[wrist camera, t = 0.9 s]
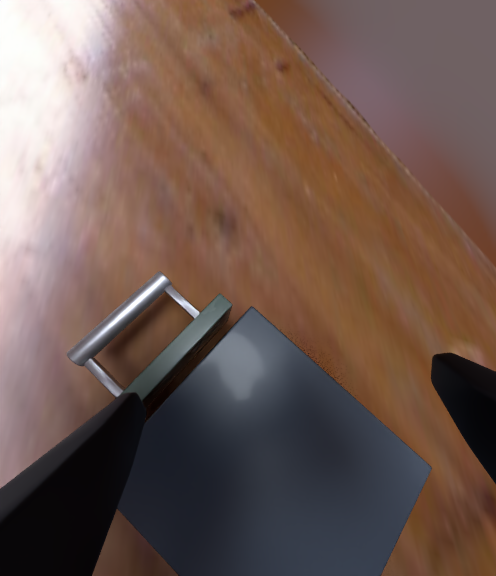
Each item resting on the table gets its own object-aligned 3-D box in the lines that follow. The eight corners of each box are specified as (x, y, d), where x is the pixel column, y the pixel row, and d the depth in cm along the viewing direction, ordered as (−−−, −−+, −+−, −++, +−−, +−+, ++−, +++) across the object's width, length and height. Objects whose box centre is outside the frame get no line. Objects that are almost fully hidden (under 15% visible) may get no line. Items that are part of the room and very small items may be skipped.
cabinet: (141, 432, 20) (91, 481, 12) (239, 324, 24) (251, 305, 16) (270, 564, 19) (312, 721, 11) (353, 428, 22) (432, 467, 14)
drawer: (83, 367, 20) (21, 370, 14) (181, 277, 23) (168, 245, 17) (244, 532, 18) (260, 625, 12) (326, 410, 22) (373, 431, 15)
